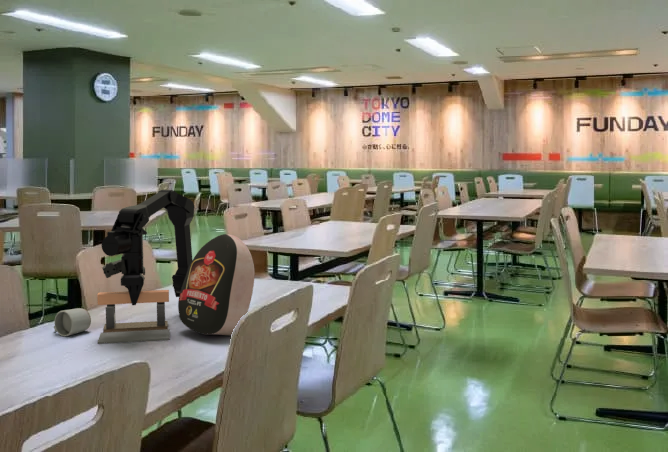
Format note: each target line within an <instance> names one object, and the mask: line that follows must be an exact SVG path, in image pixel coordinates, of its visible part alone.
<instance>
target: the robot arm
mask: <svg viewBox="0 0 668 452" xmlns="http://www.w3.org/2000/svg"><path fill="white" fill-rule="evenodd" d="M162 209H164V210H165V211H167V217H168V219H169V221H170V222H171V224H172V225H173V227H174V238H175V252H176V262H177V263H176V264H177V270H176V271H175V273H174V274H172V277H171V278H172V288H173V291H174V295H175V297H176V298H179V296H180V292H181V288H182V285H183V282H184V280H185V277H186V274H187V271H188V268H189V266H190V264H191V262H192V260H193V250H192V236H191V228H190V227H191V223H192V221H193V219H194V217H195V203H194V201H193V200H192V199H190V198H188V197H186V196H185V195H182V194H179V193H178V192H176V191H175V190H173V189H160V190H158V191H157V192H156V193H155V194H153V195H152V196H151V197H148V198H147V199H145V200H144V201H142V202H141V203H139V204H137V205H135V204H134V205H131V206H130V205H129V206H127V207H126V206H125V207H123V208H121V209H120V210H119V211H118V215H117V217H116V219H115V221H114V224H113V226H112V228H111V230H110V231H107V232H106V233H107V235H106V236H105V237H104V238H103V240H102V242H101V250H102V251H103V253H104V255H106V256H107V257H113V256H118V255H121V258H120V259H118V260H116V261H113V262H111V261H110V262H108V263H106V264H105V265H103V266H102V272H103V274H104V276H105V278H106V279H109V278H111V277H112V276H116V275H118V274H120V273H121V275H122V276H121V277H120V286H123V287H125V288H126V289H127V290H128V291H129V295H130V299H131V306H136V305H137V304H138V303H137V301H138V298H139V295H140V293H141V291H143V287H144V284H145V278H146V277H145V275H146V267H145V266H144V237H143V236H144V235H148V232H147V231H146V230H145V229H144V227H145V226H147V224H148V223H149V222H150V217H151V216H153V215H154V214H157V212H159V211H161V210H162Z"/></svg>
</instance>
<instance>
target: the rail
mask: <svg viewBox="0 0 668 452" xmlns="http://www.w3.org/2000/svg"><path fill="white" fill-rule="evenodd" d="M96 295H97V297H96V298H97V306H103V305H106V306H107V305H108V304H115V305H122V304H123V305H126V304H129V305H130V304H131V305H132V303H131V299H130V295H129V291H105V292H104V291H103V292H98V293H97V294H96ZM157 302H165V303H169V302H170V290H169V289H158V290H157V289H156V290H155V289H153V290H141V293H140V295H139V298H138V301H137V303H136V304H151V303H157Z"/></svg>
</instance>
